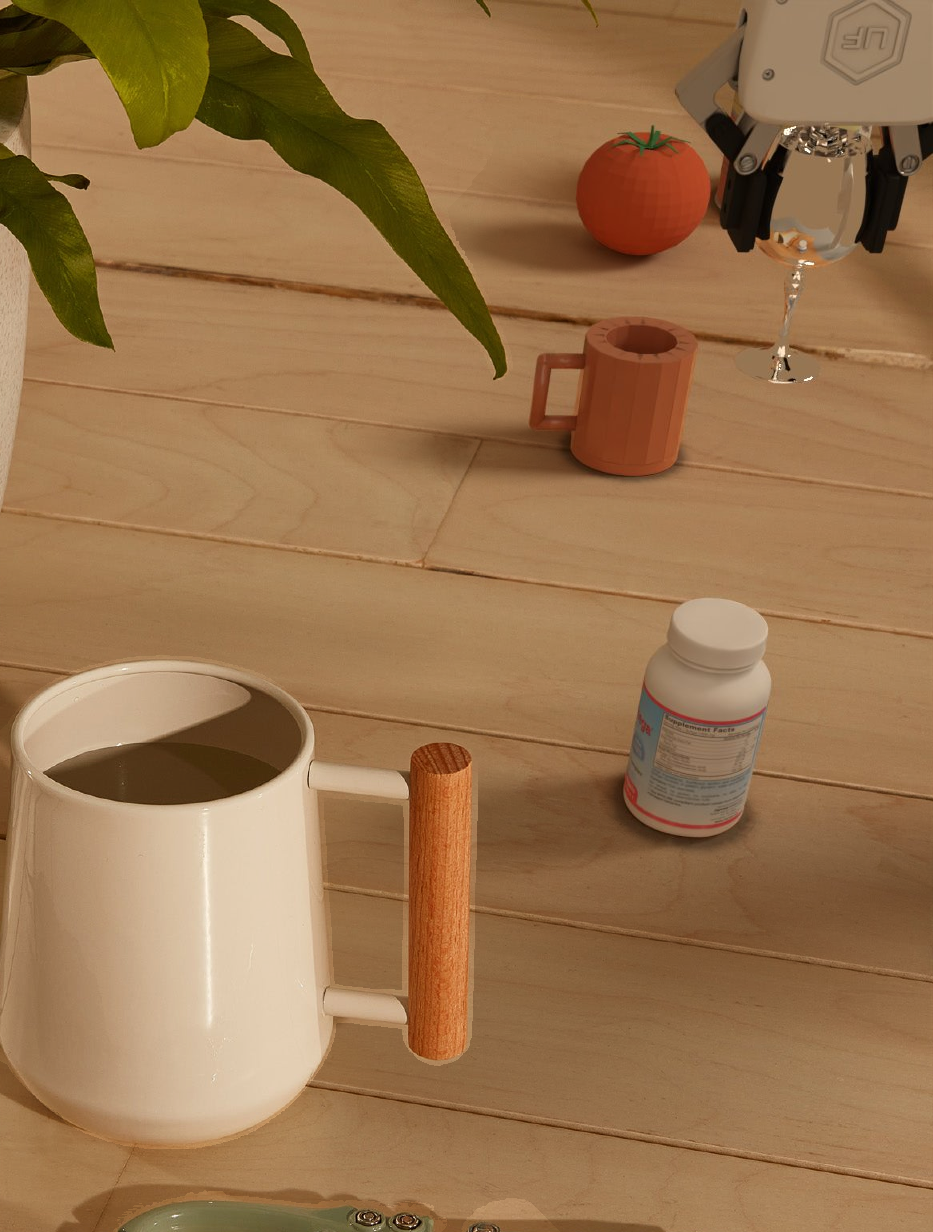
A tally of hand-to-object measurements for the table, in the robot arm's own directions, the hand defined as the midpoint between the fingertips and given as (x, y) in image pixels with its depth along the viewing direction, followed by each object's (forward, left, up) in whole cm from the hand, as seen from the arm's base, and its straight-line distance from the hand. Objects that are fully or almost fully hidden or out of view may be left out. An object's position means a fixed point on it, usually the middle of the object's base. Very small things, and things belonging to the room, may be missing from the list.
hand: (803, 239), depth 104 cm
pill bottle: (+5, +17, -24) cm, 30 cm away
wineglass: (0, 0, -7) cm, 7 cm away
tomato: (-4, -56, -24) cm, 61 cm away
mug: (+4, -22, -24) cm, 33 cm away
